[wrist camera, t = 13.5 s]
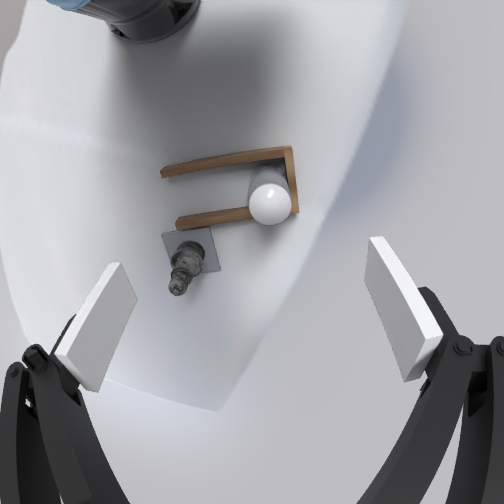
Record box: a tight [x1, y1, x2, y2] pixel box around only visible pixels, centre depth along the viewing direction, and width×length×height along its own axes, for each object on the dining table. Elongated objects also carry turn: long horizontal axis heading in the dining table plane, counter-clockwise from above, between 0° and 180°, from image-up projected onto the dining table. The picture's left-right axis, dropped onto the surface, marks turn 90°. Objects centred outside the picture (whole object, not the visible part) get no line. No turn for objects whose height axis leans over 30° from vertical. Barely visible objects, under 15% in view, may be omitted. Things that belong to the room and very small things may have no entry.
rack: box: [160, 146, 299, 230], centre depth 43 cm, size 10×20×2 cm, turn 99°
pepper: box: [248, 163, 292, 225], centre depth 39 cm, size 6×6×11 cm
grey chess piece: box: [169, 240, 205, 296], centre depth 45 cm, size 6×6×12 cm
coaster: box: [161, 226, 221, 273], centre depth 51 cm, size 9×9×1 cm
